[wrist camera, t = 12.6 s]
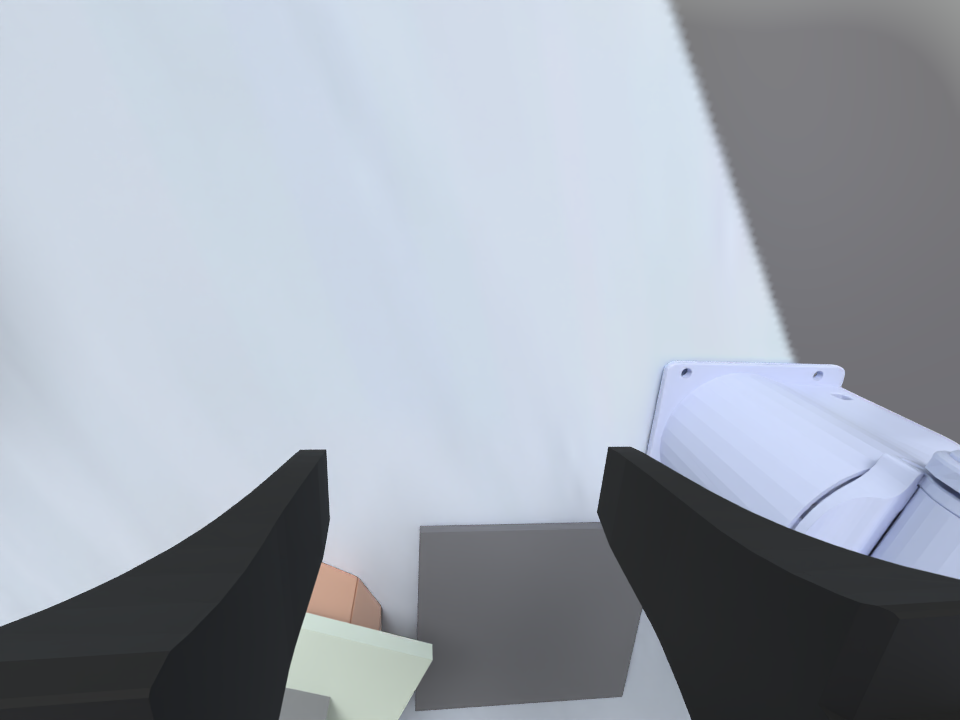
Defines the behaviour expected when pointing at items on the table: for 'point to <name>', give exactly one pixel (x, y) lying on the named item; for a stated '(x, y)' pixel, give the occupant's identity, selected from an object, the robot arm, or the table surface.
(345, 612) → the tan bowl
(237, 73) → the table surface
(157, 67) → the table surface
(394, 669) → the sheet lid
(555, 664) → the mat
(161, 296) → the table surface
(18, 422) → the table surface
